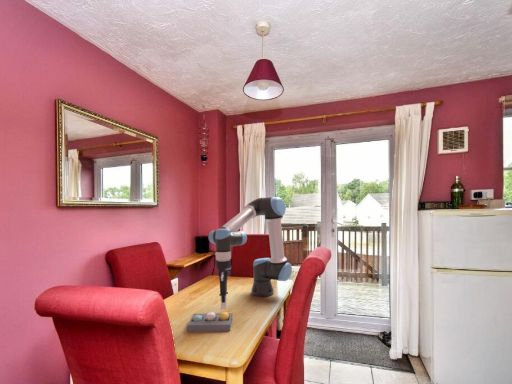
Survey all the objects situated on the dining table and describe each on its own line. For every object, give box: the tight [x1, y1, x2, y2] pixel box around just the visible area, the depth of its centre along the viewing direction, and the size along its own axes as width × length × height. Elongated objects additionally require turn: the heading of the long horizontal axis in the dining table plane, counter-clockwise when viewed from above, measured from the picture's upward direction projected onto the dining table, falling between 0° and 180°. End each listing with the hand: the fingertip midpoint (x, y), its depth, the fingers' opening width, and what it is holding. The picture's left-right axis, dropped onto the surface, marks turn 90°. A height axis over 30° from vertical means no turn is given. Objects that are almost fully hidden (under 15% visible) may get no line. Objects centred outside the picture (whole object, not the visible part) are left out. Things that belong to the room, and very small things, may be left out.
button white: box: [205, 311, 216, 321], centre depth 131 cm, size 4×4×3 cm
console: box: [186, 312, 233, 333], centre depth 131 cm, size 20×14×3 cm
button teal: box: [192, 315, 202, 321], centre depth 131 cm, size 4×4×3 cm
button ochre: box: [219, 311, 230, 321], centre depth 132 cm, size 4×4×3 cm
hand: (223, 308), depth 132 cm, fingers closed
